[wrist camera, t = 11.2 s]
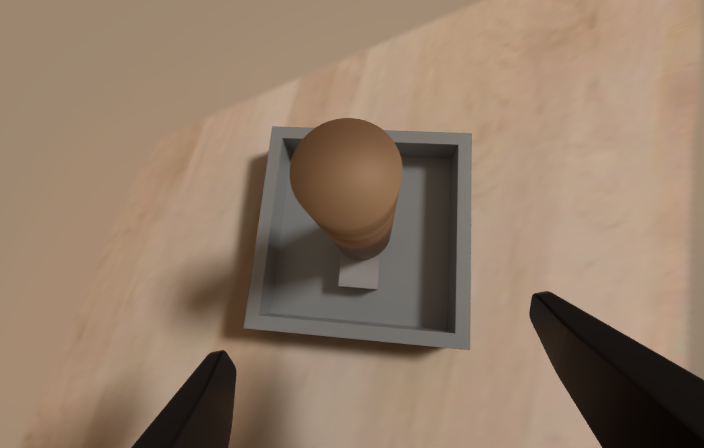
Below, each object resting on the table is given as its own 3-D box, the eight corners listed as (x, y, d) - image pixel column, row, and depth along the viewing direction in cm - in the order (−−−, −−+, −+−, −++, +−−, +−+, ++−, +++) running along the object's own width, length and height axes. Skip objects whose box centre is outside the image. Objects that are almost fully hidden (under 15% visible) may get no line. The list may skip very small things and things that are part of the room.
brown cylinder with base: (386, 290, 21) (396, 286, 9) (332, 285, 21) (275, 276, 10) (392, 187, 23) (407, 73, 11) (341, 184, 23) (302, 71, 11)
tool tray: (457, 342, 21) (470, 350, 18) (261, 323, 22) (243, 328, 19) (460, 153, 24) (471, 133, 21) (284, 146, 25) (272, 126, 22)
